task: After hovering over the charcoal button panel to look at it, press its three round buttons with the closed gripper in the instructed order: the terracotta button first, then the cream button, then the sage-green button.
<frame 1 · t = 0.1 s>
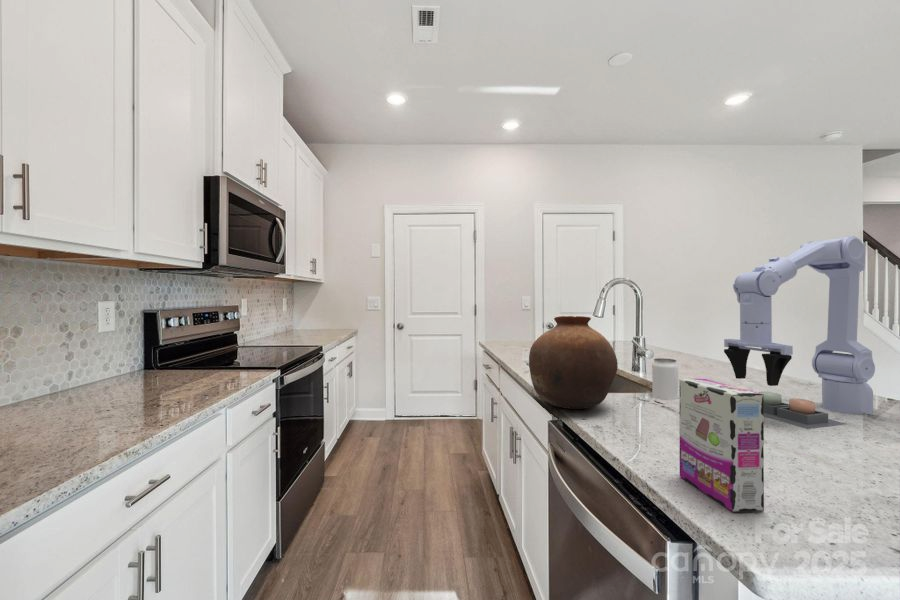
hand: (756, 381, 88), 10 cm above the countertop, fingers open, 7 cm apart
pottery: (571, 407, 104), on the countertop
can: (665, 402, 108), on the countertop
sage button: (769, 398, 94), point 4 cm above the countertop, slide at 0.0 cm
panel: (769, 416, 94), on the countertop
terracotta button: (801, 406, 87), point 4 cm above the countertop, slide at 0.0 cm
candy bar box: (718, 493, 58), on the countertop
cream button: (741, 391, 101), point 4 cm above the countertop, slide at 0.0 cm
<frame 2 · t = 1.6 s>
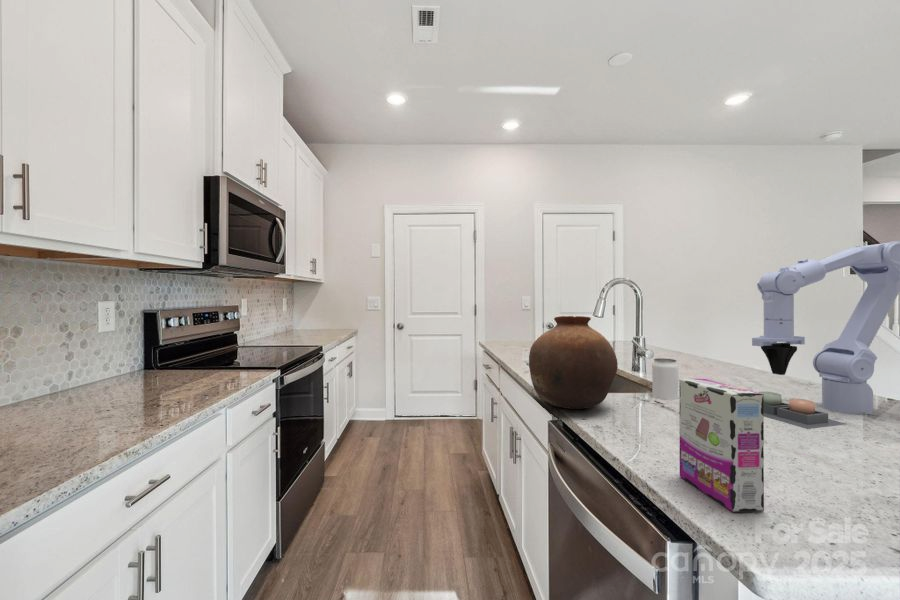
hand: (778, 374, 95), 10 cm above the countertop, fingers closed
nothing on the countertop moved.
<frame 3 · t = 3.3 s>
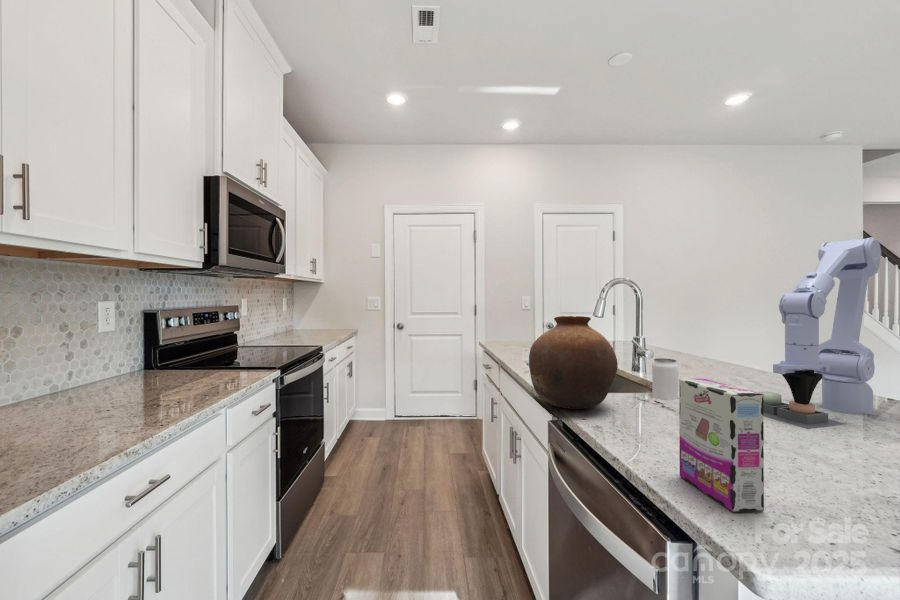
hand: (801, 403, 87), 5 cm above the countertop, fingers closed, pressing on terracotta button
terracotta button: (801, 408, 87), point 4 cm above the countertop, slide at 0.5 cm, touching gripper
everything else where it was.
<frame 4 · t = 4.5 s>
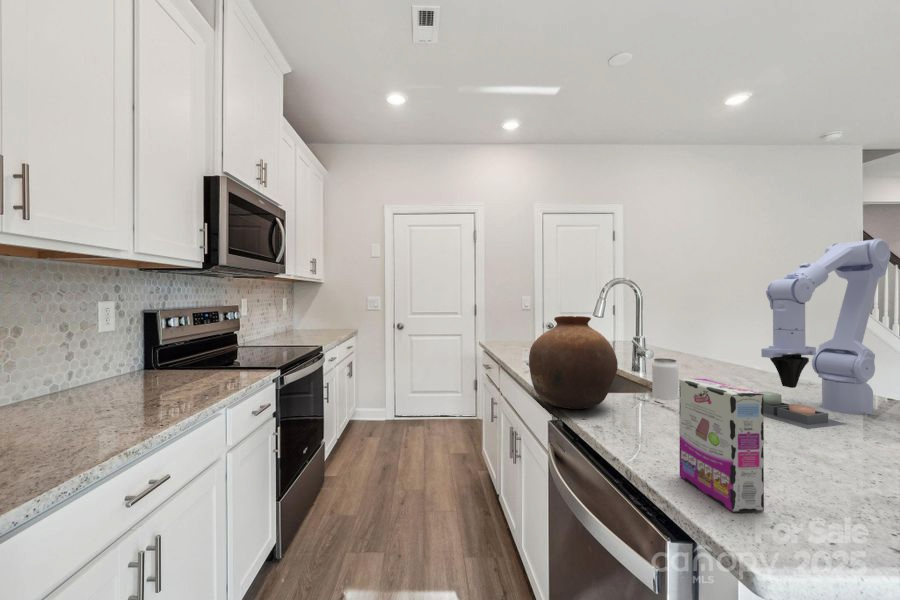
hand: (789, 386, 90), 8 cm above the countertop, fingers closed
terracotta button: (801, 412, 87), point 3 cm above the countertop, slide at 1.3 cm
everything else where it was.
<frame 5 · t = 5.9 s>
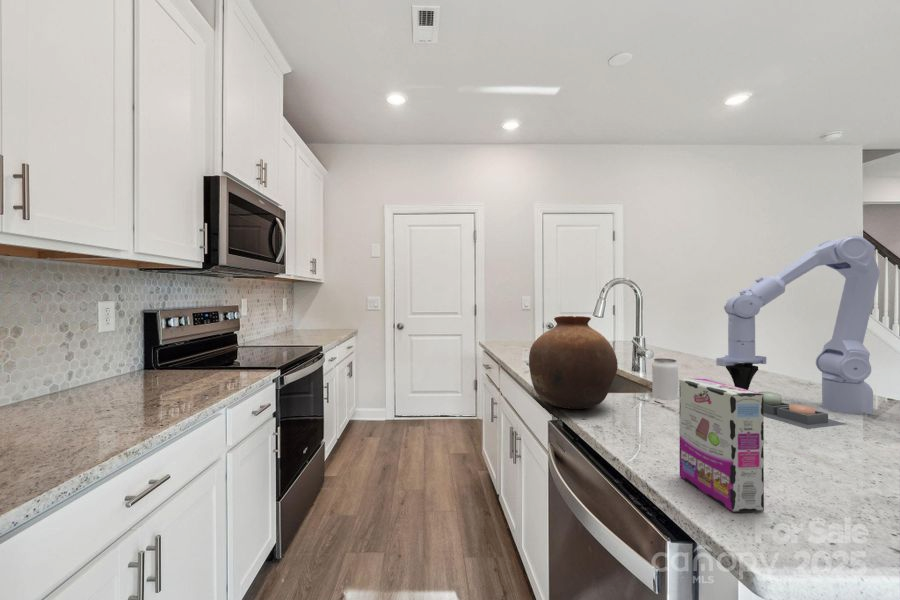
hand: (741, 392, 101), 4 cm above the countertop, fingers closed, pressing on cream button
cream button: (741, 396, 101), point 3 cm above the countertop, slide at 1.2 cm, touching gripper
everything else where it was.
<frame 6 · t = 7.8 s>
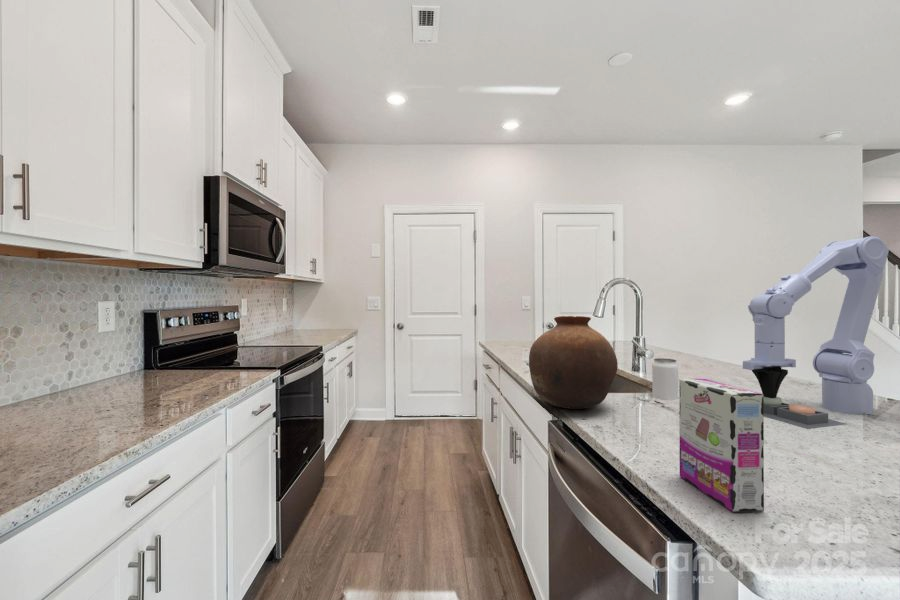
hand: (769, 397, 94), 5 cm above the countertop, fingers closed, pressing on sage button
sage button: (769, 402, 94), point 4 cm above the countertop, slide at 0.9 cm, touching gripper
cream button: (741, 396, 101), point 3 cm above the countertop, slide at 1.3 cm
everything else where it was.
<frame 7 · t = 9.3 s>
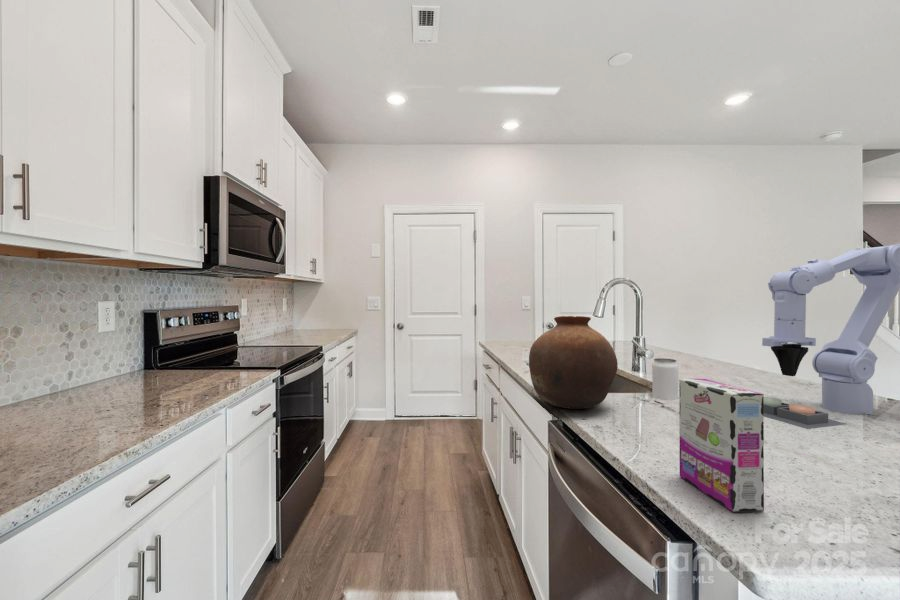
hand: (788, 375, 93), 10 cm above the countertop, fingers closed
sage button: (769, 403, 94), point 3 cm above the countertop, slide at 1.3 cm
everything else where it was.
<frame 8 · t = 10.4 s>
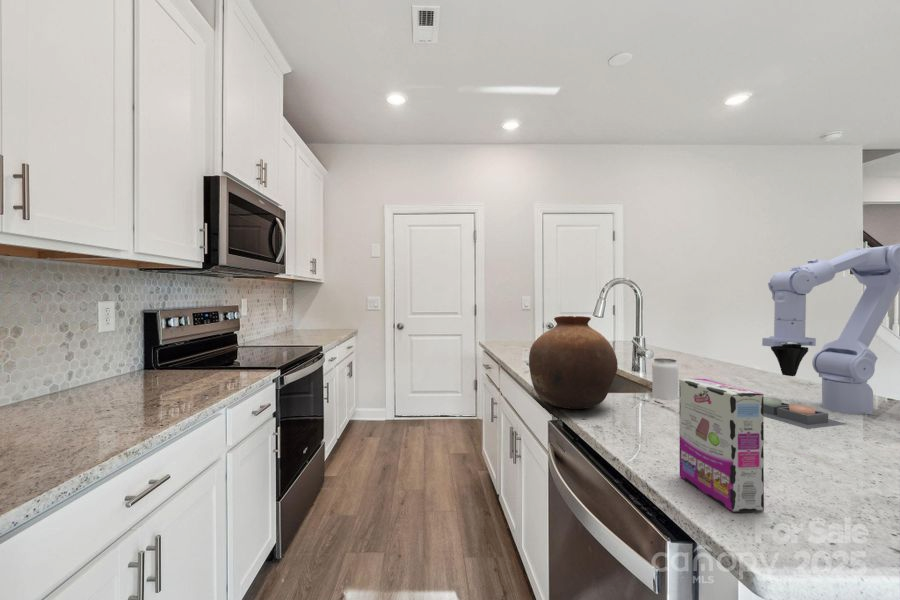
hand: (788, 375, 93), 10 cm above the countertop, fingers closed
nothing on the countertop moved.
at the end: terracotta button slide at 1.3 cm; cream button slide at 1.3 cm; sage button slide at 1.3 cm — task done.
